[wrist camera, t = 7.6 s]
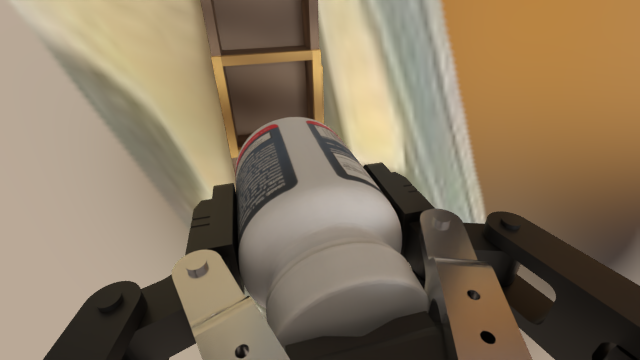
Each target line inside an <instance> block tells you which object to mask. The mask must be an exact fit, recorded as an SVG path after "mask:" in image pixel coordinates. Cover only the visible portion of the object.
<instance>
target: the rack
mask: <svg viewBox="0 0 640 360" xmlns="http://www.w3.org/2000/svg"><path fill="white" fill-rule="evenodd" d="M201 5H202V10H203V15H204V20H205V25H206V30H207V35H208V40H209V45H210V51H211V56H212V57H211V59H212V64H213V69H214V74H215V79H216V84H217V89H218V94H219V99H220V104H221V109H222V114H223V119H224V124H225V129H226V134H227V139H228V144H229V149H230V154H231V158H232V161H233V166H234V171H235V176H236V162H237V158H238V155H239V152H240V150H241V148H242V146H243V144H244V143H245V142H246V140H247V139H248V138H249V137H250V136H251V135H252V134H253V133H254V132H255V131H256V130H257V129H259V128H260V127H262V126H263V125H265V124H267V123H269V122H272V121H274V120H278V119H282V118H287V117H304V118H309V119H313V120H316V121H319V122H321V123H323V124H324V101H323V66H322V65H321V50H320V49H319V28H318V0H201Z"/></svg>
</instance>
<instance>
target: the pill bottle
mask: <svg viewBox="0 0 640 360" xmlns="http://www.w3.org/2000/svg"><path fill="white" fill-rule="evenodd" d="M236 203H237V244H238V262H239V270H240V274H241V278H242V281H243V283H244V285H245V287H246V289H247V291H248V292H249V294H250V295H251V296H252V297H253V299H254V300H255V301H257V302H258V303H259V304H260V305H261V306H263V307H264V308H266V316H267V323H268V325H269V326H270V328H271V330H272V331H273V333H274V334H275V336H276V338H277V339H278V341H279V342H280V344H281V346H282V347H283V349H284V350H285V352H286V348H285V345H289V344H293V343H297V342H301V341H305V340H309V339H313V338H317V337H321V336H355V337H359V336H364V335H366V334H368V333H370V332H371V331H373V330H375V329H377V328H378V327H380V326H382V325H384V324H385V323H387V322H389V321H391V320H392V319H394V318H398V317H402V316H406V315H410V314H415V313H419V312H423V311H427V313H428V310H429V305H430V302H429V299H428V296H427V294H426V292H425V291H424V289H423V287H422V286H421V284H420V282H419V281H418V279H417V277H416V276H415V274H414V273H413V271H412V269H411V267H410V265H409V264H408V262H407V261H406V259H405V258H404V257H403V256H402V255H401V254H400V253H401V248H402V230H401V225H400V221H399V219H398V216H397V214H396V212H395V210H394V209H393V207H392V205H391V204H390V202H389V201H388V199H387V198H386V196H385V195H384V194H383V193H382V191H381V190H380V189H379V187H378V186H377V185H376V183H375V182H374V181H373V179H372V178H371V177H370V176H369V174H368V173H367V172H366V170H365V169H364V168H363V167H362V165H361V164H360V163H359V162H358V160H357V159H356V158H355V157H354V155H353V154H352V153H351V152H350V150H349V149H348V148H347V146H346V145H345V144H344V143H343V141H342V140H341V139H340V138H339V137H338V136H337V135H336V133H335V132H334V131H333V130H332V129H330V128H329V127H328V126H326V125H325V124H323V123H321V122H319V121H316V120H313V119H309V118H304V117H287V118H282V119H278V120H274V121H272V122H269V123H267V124H265V125H263V126H262V127H260V128H259V129H257V130H256V131H255V132H254V133H253V134H252V135H251V136H250V137H249V138H248V139H247V140H246V142H245V143H244V144H243V146H242V148H241V150H240V152H239V155H238V158H237V162H236Z"/></svg>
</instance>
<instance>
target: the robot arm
mask: <svg viewBox="0 0 640 360" xmlns="http://www.w3.org/2000/svg"><path fill="white" fill-rule="evenodd" d="M363 168H364V169H365V170H366V172H367V173H368V174H369V176H370V177H371V178H372V179H373V181H374V182H375V183H376V185H377V186H378V187H379V189H380V190H381V191H382V193H383V194H384V195H385V196H386V198H387V199H388V201H389V202H390V204H391V205H392V207H393V209H394V210H395V212H396V214H397V216H398V219H399V221H400V225H401V230H402V248H401V253H400V254H401V255H402V256H403V257H404V258H405V259H406V261H407V262H409V264H410V265H411V269H412V271H413V273H414V274H415V276H416V277H417V279H418V281H419V282H420V284H421V286H422V287H423V289H424V291H425V292H426V294H427V296H428V299H429V302H430V305H429V310H428V313H427V311H423V312H419V313H415V314H410V315H406V316H402V317H398V318H394V319H392V320H391V321H389V322H387V323H385V324H384V325H382V326H380V327H378V328H377V329H375V330H373V331H371V332H370V333H368V334H366V335H364V336H359V337H355V336H321V337H317V338H313V339H309V340H305V341H301V342H297V343H293V344H289V345H285V348H286V352H285V350H284V349H283V347H282V346H281V344H280V342H279V341H278V339H277V338H276V336H275V334H274V333H273V331H272V330H271V328H270V326H269V325H268V323H267V322H266V320H265V318H264V317H263V315H262V314H261V312H260V310H259V309H258V307H257V306H256V304H255V302H254V301H253V299H252V298H251V297H250V296H247V297H245V296H244V283H243V281H242V278H241V274H240V270H239V262H238V244H237V203H236V192H235V187H234V184H233V183H231V184H224V185H217V186H214V187H213V196H212V199H209V200H203V201H201V202H200V203H199V204H198V205H197V206H196V208H195V209H194V212H193V217H192V222H191V228H190V233H189V238H188V243H187V249H186V254H185V256H184V257H182V258H181V259H180V260H179V261H178V262H177V263H176V264H175V266H174V267H173V269H172V274H171V275H170V276H169V277H167V278H165V279H163V280H161V281H159V282H157V283H154V284H152V285H150V286H147V287H145V288H143V289H140V287H139V286H138V285H137V284H136V283H134V282H131V281H121V282H116V283H113V284H110V285H108V286H105V287H103V288H102V289H100V290H98V291H97V292H95V293H94V294H93V295H92V296H90V297H89V298H88V299H87V301H86V302H85V303H84V304H83V306H82V307H81V308H80V310H79V311H78V312H77V314H76V315H75V317H74V318H73V319H72V321H71V322H70V323H69V325H68V326H67V327H66V329H65V330H64V332H63V333H62V334H61V336H60V337H59V339H58V340H57V341H56V343H55V344H54V345H53V347H52V348H51V349H50V351H49V352H48V353H47V355H46V356H45V358H44V359H43V360H169V358H170V357H171V356H173V355H175V354H177V353H179V352H181V351H182V350H184V349H186V348H188V347H190V346H192V345H194V344H196V343H197V346H198V348H199V351H200V354H201V356H202V359H203V360H532V357H531V355H530V353H529V350H528V348H527V346H526V344H525V341H524V339H523V337H522V334H521V332H520V330H519V328H520V329H522V331H524V332H525V333H526V334H527V335H528V336H529V337H531V338H532V339H533V340H534V341H535V342H536V343H537V344H538V345H539V346H541V347H542V348H543V349H544V350H545V351H546V352H547V353H548V354H549V355H551V356H552V357H553V358H554V359H555V360H640V286H639V285H637V284H635V283H634V282H632V281H631V280H629V279H627V278H625V277H624V276H622V275H620V274H619V273H617V272H615V271H613V270H612V269H610V268H608V267H606V266H605V265H603V264H601V263H599V262H598V261H596V260H595V259H593V258H591V257H590V256H588V255H586V254H584V253H583V252H581V251H579V250H578V249H576V248H574V247H572V246H571V245H569V244H567V243H565V242H564V241H562V240H560V239H559V238H557V237H555V236H554V235H552V234H550V233H548V232H547V231H545V230H543V229H541V228H540V227H538V226H537V225H535V224H533V223H531V222H530V221H528V220H526V219H525V218H523V217H521V216H519V215H516V214H513V213H509V212H493V213H491V214H489V215H488V217H487V219H486V222H485V224H478V223H463V222H462V220H461V219H460V218H459V217H458V216H457V215H456V214H454V213H452V212H450V211H447V210H443V209H435V208H434V207H433V206H432V205H431V204H430V203H429V202H428V201H427V199H426V198H425V197H424V196H423V195H422V194H421V193H420V192H419V191H417V189H416V188H415V187H414V186H412V184H411V183H410V182H409V181H408V180H407V178H406V177H404V176H402V175H400V174H398V173H396V172H392V173H391V172H390V171H389V169H388V168H387V167H386V166H385V165H384V164H383V163H375V164H368V165H364V167H363ZM521 264H522V265H523V266H525V267H526V268H528V269H529V270H530V271H532V272H533V273H535V274H536V275H538V276H539V277H540V278H542V279H543V280H544V281H546V282H547V283H548V284H550V286H551V287H552V288H553V289H554V291H555V293H556V300H555V302H553V301H552V300H550V299H549V298H548V297H546V296H545V295H544V294H542V293H541V292H540V291H538V290H537V289H535V288H534V287H533V286H532V285H530V284H529V283H528V282H526V281H525V280H524V279H522V278H521V277H520V276H518V275H517V272H518V269H519V267H520V265H521Z"/></svg>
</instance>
